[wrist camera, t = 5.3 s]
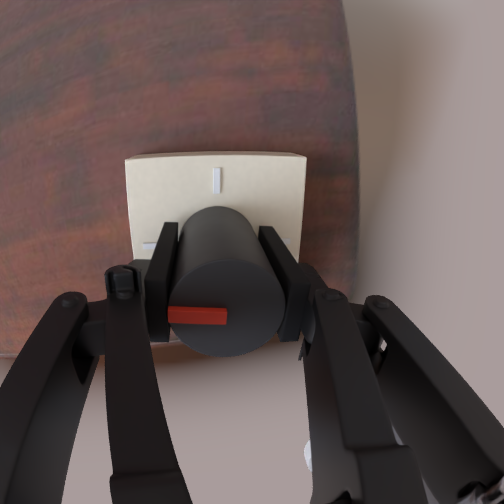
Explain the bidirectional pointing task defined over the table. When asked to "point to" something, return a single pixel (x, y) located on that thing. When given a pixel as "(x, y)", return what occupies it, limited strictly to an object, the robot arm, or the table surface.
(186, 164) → the knob panel
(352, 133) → the table surface
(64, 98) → the table surface
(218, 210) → the knob
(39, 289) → the table surface
